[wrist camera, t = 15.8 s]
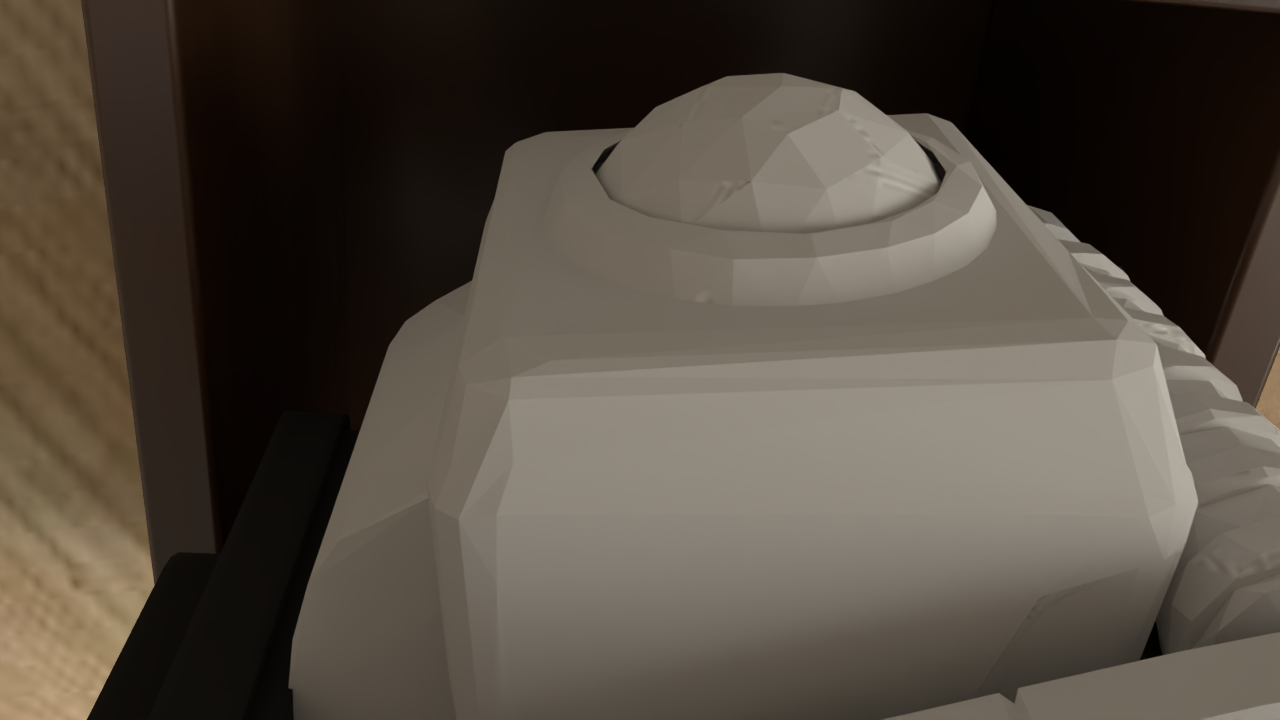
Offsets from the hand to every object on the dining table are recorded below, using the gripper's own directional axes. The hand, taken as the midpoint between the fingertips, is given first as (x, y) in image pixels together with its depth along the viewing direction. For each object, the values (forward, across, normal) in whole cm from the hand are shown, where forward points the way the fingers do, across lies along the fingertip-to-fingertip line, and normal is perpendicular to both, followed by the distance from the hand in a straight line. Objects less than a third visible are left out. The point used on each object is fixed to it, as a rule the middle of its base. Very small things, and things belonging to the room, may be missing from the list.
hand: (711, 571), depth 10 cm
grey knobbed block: (-2, 0, -5) cm, 6 cm away
